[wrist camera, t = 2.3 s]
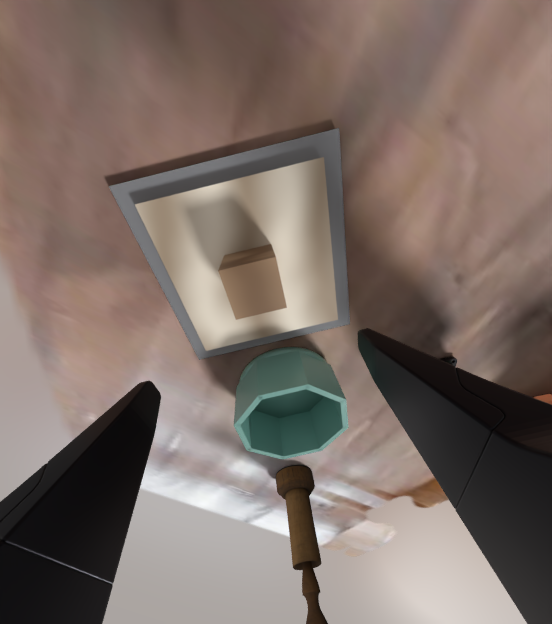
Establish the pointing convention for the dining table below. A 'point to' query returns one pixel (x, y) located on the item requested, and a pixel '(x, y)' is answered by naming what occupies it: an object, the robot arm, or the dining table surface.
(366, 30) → the dining table surface
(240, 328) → the lid
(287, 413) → the bowl
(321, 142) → the mat
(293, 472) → the brown wooden upright piece
